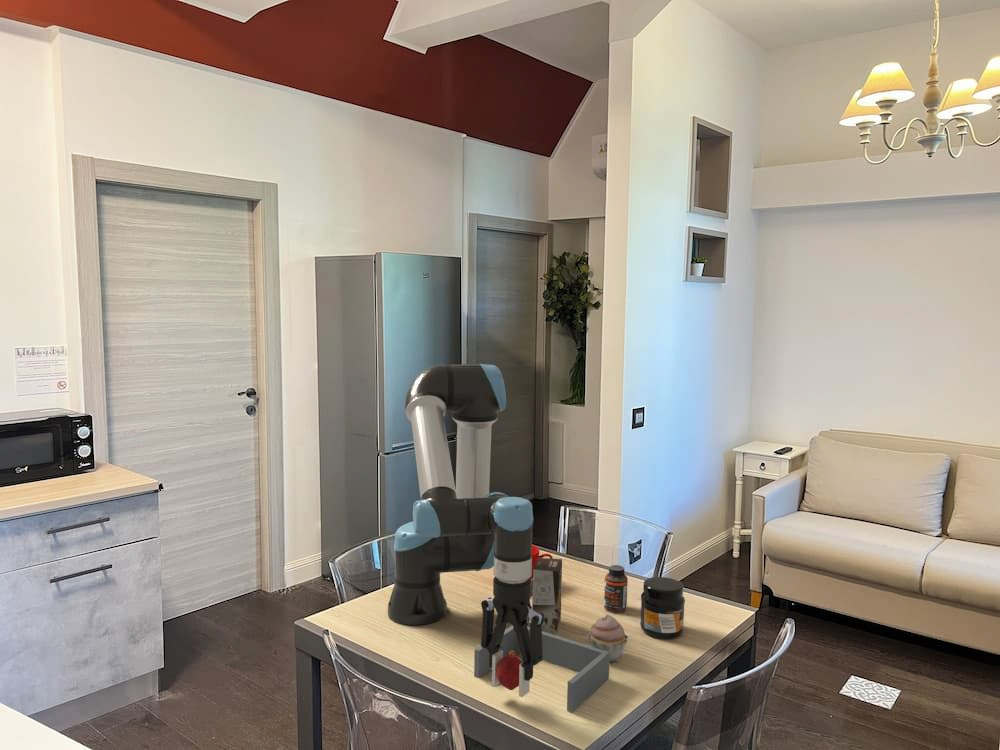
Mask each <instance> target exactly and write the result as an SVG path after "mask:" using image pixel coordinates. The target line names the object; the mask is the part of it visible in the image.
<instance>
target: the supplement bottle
mask: <svg viewBox="0 0 1000 750" xmlns="http://www.w3.org/2000/svg"><path fill="white" fill-rule="evenodd" d="M608 568H609V569H608V573H606V574H605V577H604V593H603V594H604V595H603V596H604V597H603V607H604V609H605V610H606V611H608V612H610V613H617V614H618V613H619V614H620V613H622V612H625V611H626V610H627V607H628V606H627V605H628V604H627V603H628V582H629V579H628V576H627V575H626V574H625V567H624V566H623V565H620V564H612V565H610V566H609V567H608Z"/></svg>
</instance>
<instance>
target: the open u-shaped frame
mask: <svg viewBox="0 0 1000 750" xmlns="http://www.w3.org/2000/svg"><path fill="white" fill-rule="evenodd" d="M528 632H529V636H530V626H528ZM501 646H502V647H501ZM500 647H501V648H500V649H498V651H499V650H501V651H503V658H504V657H505V656H507V655H508V654H509V652H510V651H514V652H515V653H517V652H519V653H521V652H520V648H519V643H518V639H517V634H516V632H515V631H514V628H513V625H510V626H509V627H506V629H505V632H504V635H503V639H502V642H501V645H500ZM473 655H474V660H473V661H474V662H473V663H474V664H473V667H474V670H473V672H474V673H473V675H474V677H476V678H480V677H482V676H483V675H485V674H487V672H489V671H490V670H491V671H492V668H490V665H489V652H488V650H487V649H486V648H482V647H481V644H480V645H479V646H477V647H475V648H474V654H473ZM609 660H610V652H607V651H604V650H601V649H598V648H594V647H591V645H587V644H584V643H581V642H577V641H574V640H571V639H568V638H565V637H561V636H559V635H553V634H549V633H546V632H543V631H542V660H541V661H545V662H548V663H551V664H554V665H556V666H559V667H562V668H566V669H568V670H572V671H575V672H577V673H576V674H575V675H574V676H573V677H572V678H570V679H569V680H568V681H567V693H566V695H567V697H566V711H567V712H569V713H573V714H574V712H575V711H576V710H577V709H578V708H579V707H581V706H582V704H584V703H585V702H586V701H587V700H588V699H589V698H591V696H592V695H594V694H595V692H597V691H598V690H599V689H600V688H601V687H602V686H603V685H604V684H605V683H606V682H607V681H609V679H610V662H609Z"/></svg>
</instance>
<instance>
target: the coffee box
mask: <svg viewBox="0 0 1000 750" xmlns="http://www.w3.org/2000/svg"><path fill="white" fill-rule="evenodd" d="M562 578H563V559H562V558H554V557H553V558H550V557H543V558H538V559H537V562H536V564H535V566H534V569H533V578H532V602H531V603H532V604H531V607H532V610H533V611H535V612H536V613H540V612H542V613H543V614H544V618H543V621H542V631H543V632H546V633H549V634H553V635H556V636H558V635H557V634H558V631H559V627H560V624H561V620H562V619H561V618H562V588H563V587H562V585H563V583H562V582H563V579H562Z"/></svg>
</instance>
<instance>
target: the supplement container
mask: <svg viewBox="0 0 1000 750" xmlns="http://www.w3.org/2000/svg"><path fill="white" fill-rule="evenodd" d="M642 589H643V591H642V593H641V595H640V600H641V602H640V603H641V604H640V605H641V606H640V623H639V624H640V629H641V631H643V632H644V633H645V634H646V635H648V636H651V637H653V638H657V639H665V640H668V639H669V640H670V639H671V640H672V639H676V638H678V637H680V636H681V635H682V634H683V632H684V629H685V625H684V623H685V622H684V621H685V619H684V618H685V604H686V603H685V602H686V599H685V597H684V585H683V583H682V582H681V581H679V580H677V579H674V578H670V577H666V576H654V577H653V576H652V577H648V578H647V579H645V580H644V581H643V588H642Z"/></svg>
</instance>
